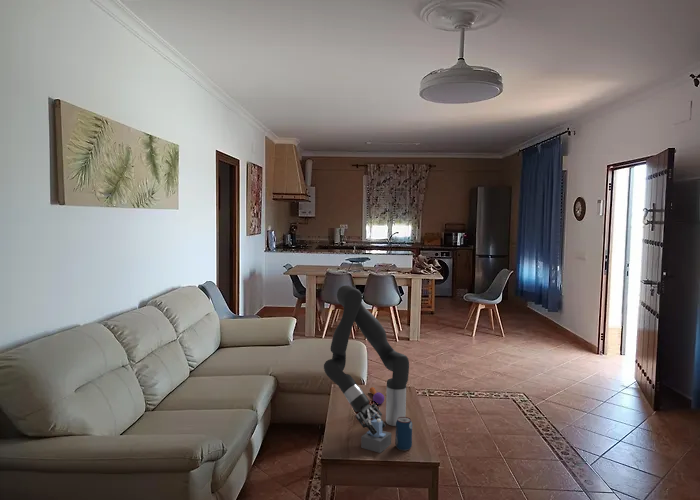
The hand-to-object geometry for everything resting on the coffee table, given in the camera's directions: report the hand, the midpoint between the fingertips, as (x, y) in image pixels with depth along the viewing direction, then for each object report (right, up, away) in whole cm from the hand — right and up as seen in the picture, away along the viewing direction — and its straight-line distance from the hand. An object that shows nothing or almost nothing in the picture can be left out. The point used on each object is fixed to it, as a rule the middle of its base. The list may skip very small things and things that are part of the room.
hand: (379, 430), depth 205 cm
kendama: (+1, -5, +58) cm, 58 cm away
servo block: (-2, -7, +1) cm, 7 cm away
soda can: (+10, -7, 0) cm, 12 cm away
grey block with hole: (-1, -7, +1) cm, 7 cm away
